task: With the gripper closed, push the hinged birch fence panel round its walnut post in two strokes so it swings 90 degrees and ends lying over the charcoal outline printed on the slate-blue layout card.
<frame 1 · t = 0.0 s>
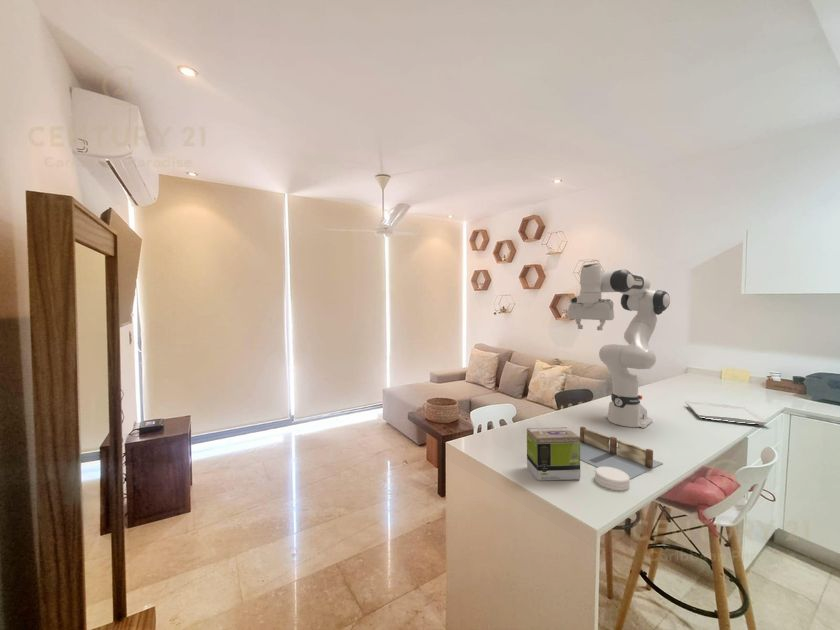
hand: (589, 329, 153), 48 cm above the table, fingers open, 8 cm apart
fence fixed panel: (613, 454, 133), resting on layout card
layout card: (607, 456, 131), on the table
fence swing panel: (634, 453, 126), point 3 cm above the table, hinge at 90.0°
tea box: (552, 474, 118), on the table
coaster: (611, 484, 112), on the table
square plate: (722, 417, 181), on the table
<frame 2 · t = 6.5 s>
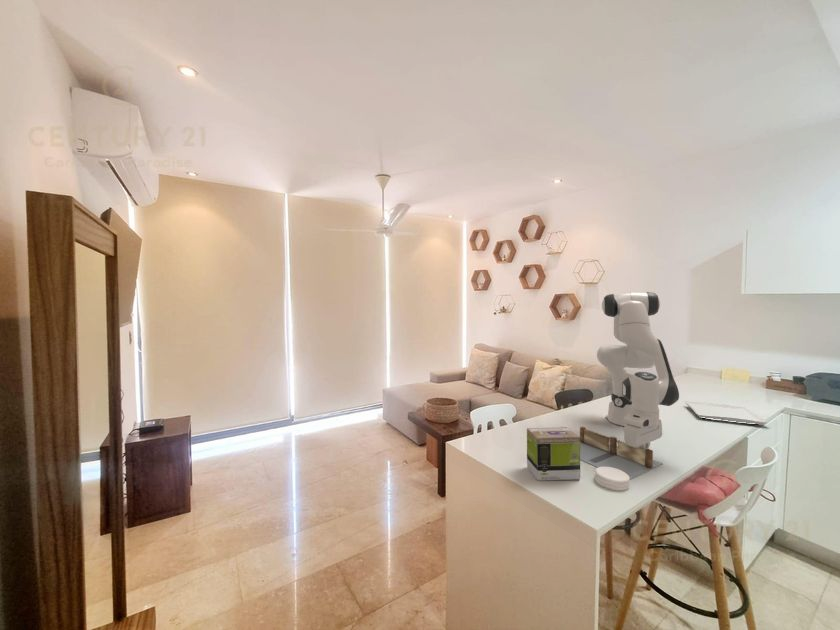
hand: (643, 453, 125), 4 cm above the table, fingers closed
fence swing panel: (633, 453, 126), point 3 cm above the table, hinge at 89.2°, touching gripper
everything else where it was.
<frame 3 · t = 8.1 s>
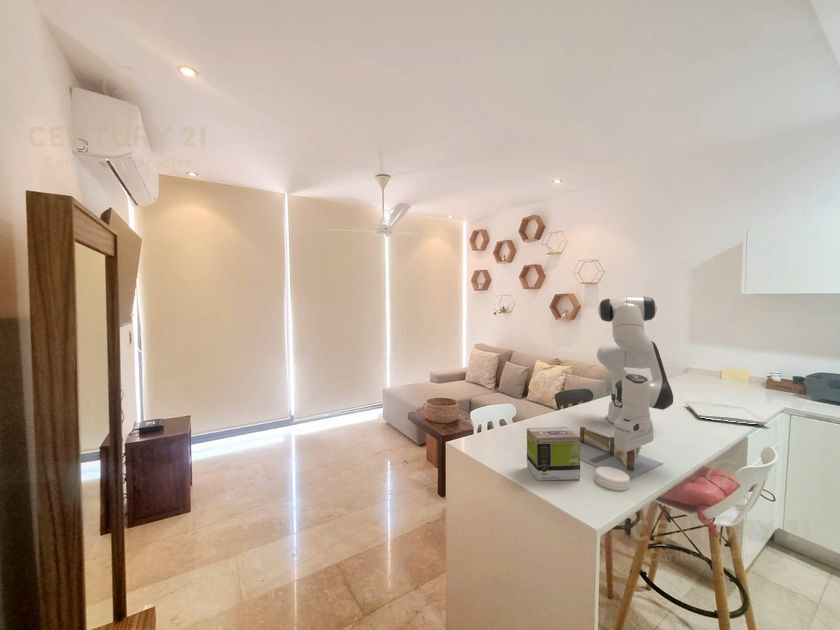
hand: (634, 457, 122), 3 cm above the table, fingers closed
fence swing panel: (623, 454, 125), point 3 cm above the table, hinge at 53.8°, touching gripper
everything else where it was.
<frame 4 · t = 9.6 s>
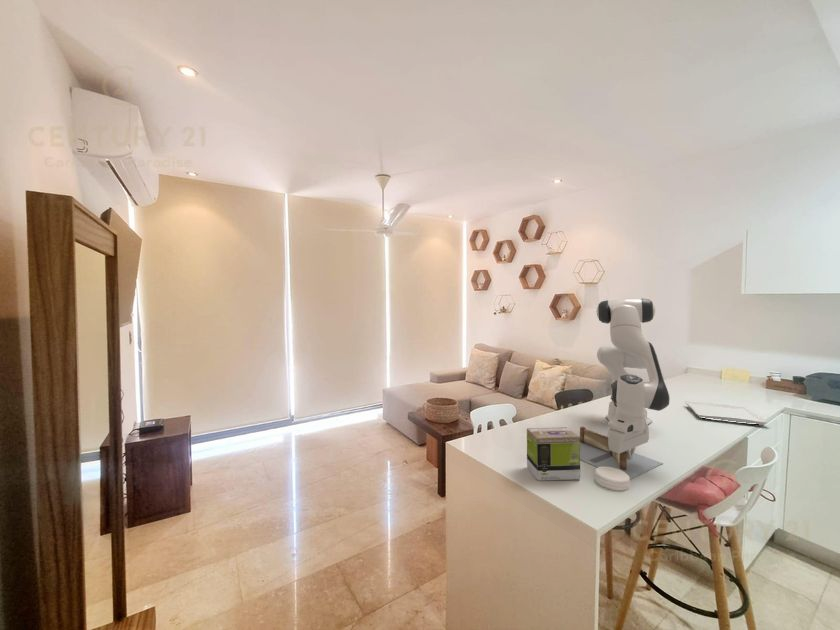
hand: (628, 458, 122), 3 cm above the table, fingers closed
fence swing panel: (618, 453, 126), point 3 cm above the table, hinge at 43.1°, touching gripper
everything else where it was.
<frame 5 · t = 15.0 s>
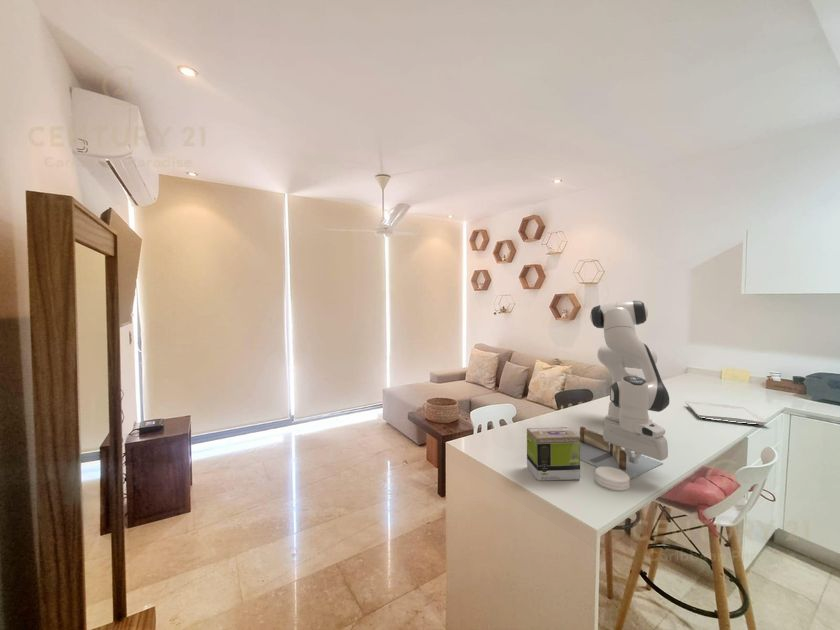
hand: (632, 462, 118), 4 cm above the table, fingers closed
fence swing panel: (618, 453, 126), point 3 cm above the table, hinge at 42.6°, touching gripper
everything else where it was.
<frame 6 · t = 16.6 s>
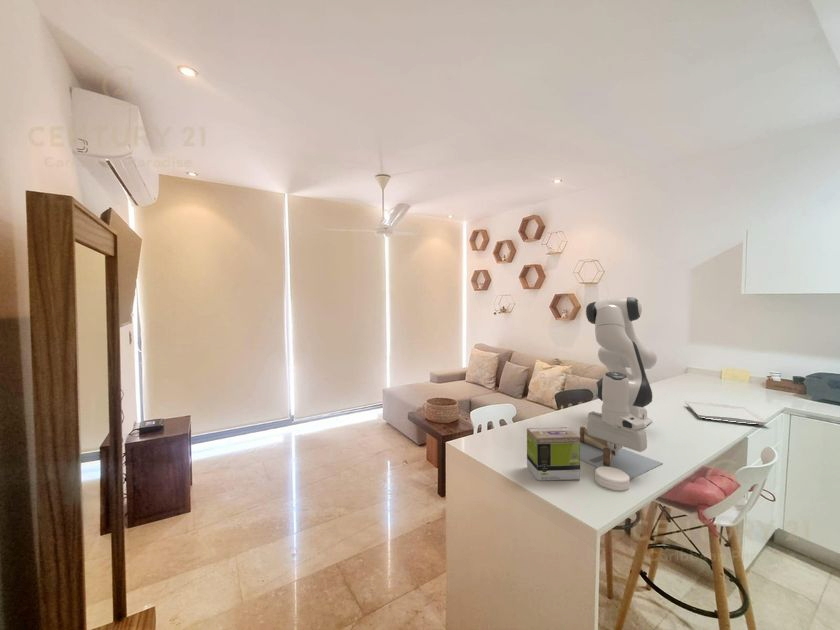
hand: (614, 454, 123), 4 cm above the table, fingers closed
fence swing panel: (609, 452, 127), point 3 cm above the table, hinge at 20.1°, touching gripper
everything else where it was.
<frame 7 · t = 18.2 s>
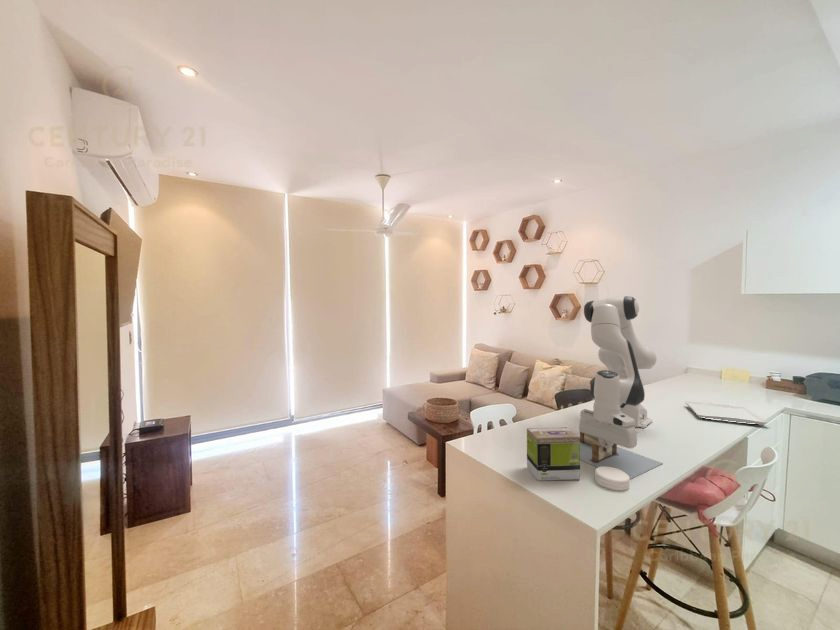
hand: (605, 451, 126), 4 cm above the table, fingers closed
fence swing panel: (602, 450, 129), point 3 cm above the table, hinge at 2.9°, touching gripper
everything else where it was.
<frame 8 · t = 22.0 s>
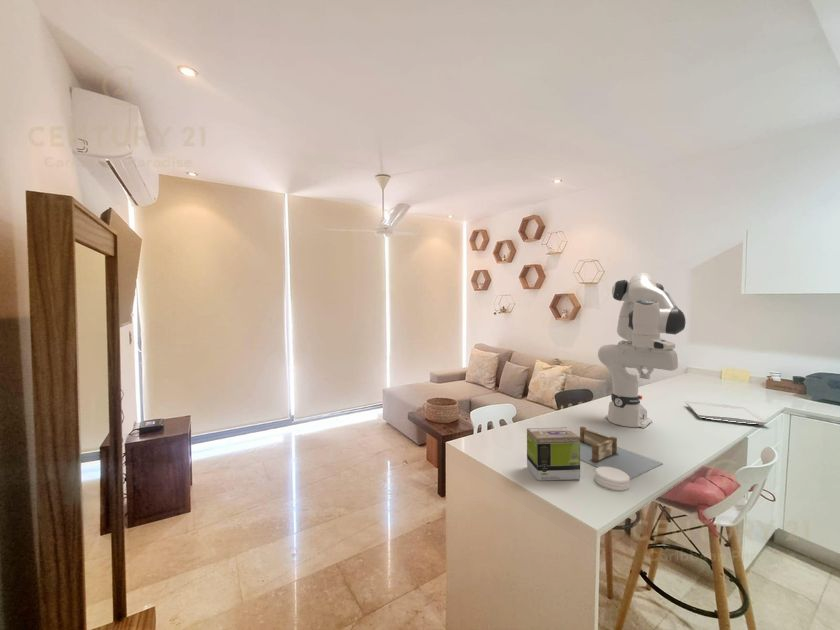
hand: (644, 378, 128), 31 cm above the table, fingers closed
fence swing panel: (602, 450, 129), point 3 cm above the table, hinge at 2.7°
everything else where it was.
at the end: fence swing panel at +3° (first picture: +90°) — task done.
